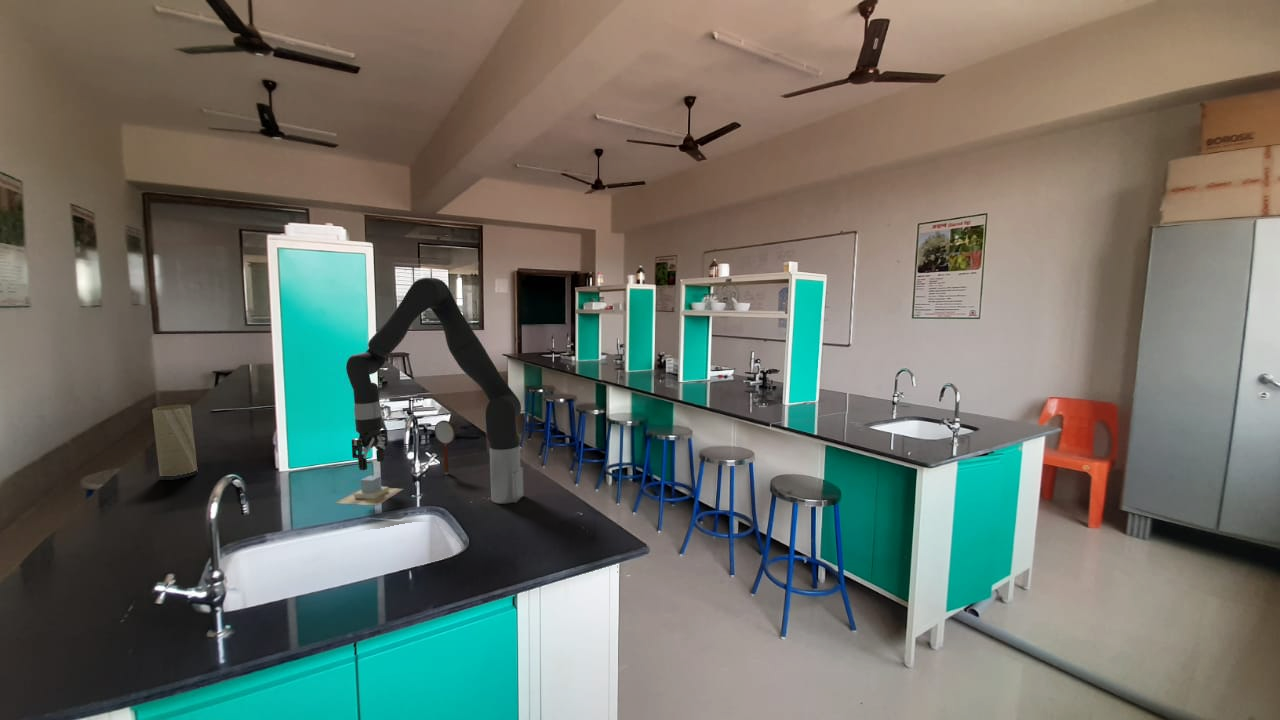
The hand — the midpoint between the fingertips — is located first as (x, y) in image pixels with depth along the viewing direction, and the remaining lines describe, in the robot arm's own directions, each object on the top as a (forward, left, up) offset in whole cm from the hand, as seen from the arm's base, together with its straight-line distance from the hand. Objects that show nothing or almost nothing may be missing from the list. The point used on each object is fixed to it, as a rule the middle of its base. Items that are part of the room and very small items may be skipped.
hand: (372, 465), depth 165 cm
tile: (0, -3, -9) cm, 9 cm away
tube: (+81, -7, -10) cm, 82 cm away
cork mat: (0, +1, -10) cm, 10 cm away
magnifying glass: (-13, -22, -10) cm, 27 cm away
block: (0, +1, -8) cm, 8 cm away
